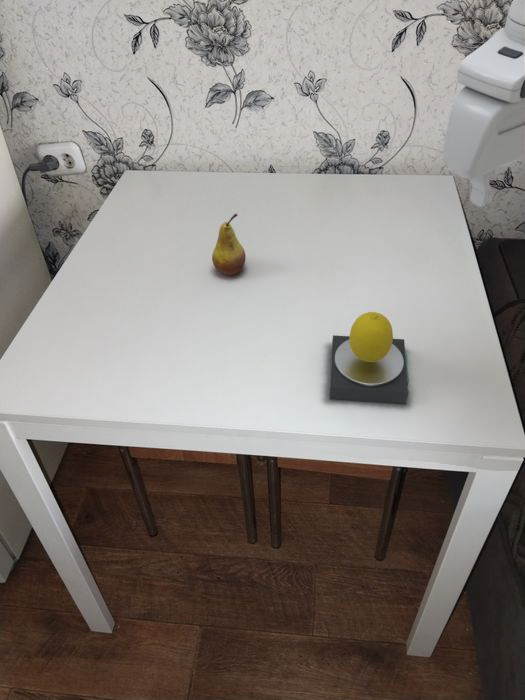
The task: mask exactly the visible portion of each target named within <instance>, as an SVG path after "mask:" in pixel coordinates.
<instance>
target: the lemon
mask: <svg viewBox="0 0 525 700" xmlns="http://www.w3.org/2000/svg"><path fill="white" fill-rule="evenodd" d="M349 332H350V333H349V336H350V337H349V341H350V347H351V349H352V351H353V353H354V355H355V356H356V357H357V358H359V359H360V360H363V361H365V362H376V361H379V360H381V359H382V358H384V357H385V356H386V355H387V353H388V352H389V350H390V348H391V345H392V341H393V339H394V333H393V327H392V324H391V322H390V320H389V319H388V318H387V317H386V316H385V315H384V314H382V313H379V312H376V311H368V312H365V313H362V314H360V315H359V316H358V317H357V318H356V319H355V321H354V322H353V323H352V325H351V329H350V331H349Z"/></svg>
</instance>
